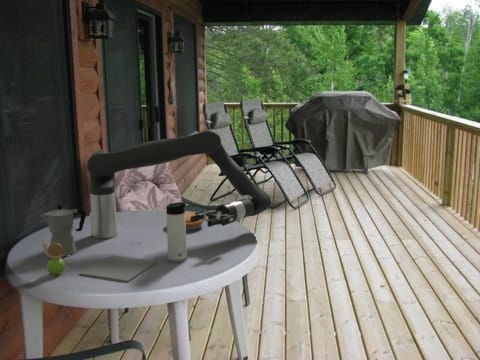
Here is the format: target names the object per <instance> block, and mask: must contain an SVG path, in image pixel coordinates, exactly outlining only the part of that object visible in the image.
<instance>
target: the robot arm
mask: <svg viewBox="0 0 480 360" xmlns="http://www.w3.org/2000/svg"><path fill="white" fill-rule="evenodd" d="M195 155H196V156H197V155H206V156H207V157H209V159H211V160H212V161H213V163H214V164H216V165H217V167H218V168H219V169H220V171H221V172H222V174H223V175H224V176H225V177H226V179H227V180H228V182H229V183H230V184H231V185H232V187H233V188H234V190H235V191H236V192H237V193H238V194H239V195H240V196H241V197H244V196H249V197H251V198H249V199H247V198H242V199H237V200H234V201H233V200H232V201H230V202H225V203H222V204H219V205H218V206H217V207H216V208H215V210H209V209H203V210H199V211H195V212H194V213H195V215H194V216H191V222H196V221H200V220H204V222H206V224H207V227H208V228H211V227H214V226H220V225H221V227H223V226H227V225H230V224H232V223H235V222H238V221H241V220H242V219H245V218H247V217H255V216H258V215H260V214H261V213H264V211H265V212H266V210H268V209H270V208H271V206H272V199H271V197H270V195H269V194H268V192H266V191H265V190H264V189H262V188H261V187H260V186H258V185H257V184H256V183H254V182H253V181H252V180H251V179H250V177H249V176H248V175H247V173H246V172H245V171H244V170H243V169H242V167H240V165H238V164H237V163H236V161H235V160H234V159H233V158H232V157H231V156H230V154H229V153H228V152H227V151H226V149H225V148H224V145H223V144H222V139H221V136H220V135H219V133H217V132H216V131H215V130H213V129H205V130H203V131H200V132H198V133H194V134H191V135H187V136H182V137H172V138H161V139H156V140H151V141H146V142H142V143H140V144H136V145H134V146H132V147H129V148H126V149H123V150H118V151H112V152H108V151H107V150H97V151H95V152H93V153H92V154H91V155H90V157H89V158H88V160H87V162H86V169H87V171H88V173H89V175H90V177H89V178H90V180H89V181H90V184H89V193H90V194H89V195H90V205H91V207H90V208H91V211H90V212H89V223H90V237H94V238H95V239H111V238H114V237H116V236H117V235H118V222H117V205H116V190H115V188H116V179H115V176H116V175H115V173H118V172H121V171H125V170H130V169H133V170H134V169H140V168H146V167H151V166H156V165H161V164H162V165H163V164H166V163H169V162H173V161H176V160H179V159H182V158H185V157H188V156H195Z"/></svg>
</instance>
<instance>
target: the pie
mask: <svg viewBox="0 0 480 360" xmlns="http://www.w3.org/2000/svg"><path fill="white" fill-rule="evenodd" d="M194 215H195V212H185V223H186V232H188V231H190V232H191V231H194V230H195V231H196V230H199V229H200V228H201V227H202V225H203V223H204V222H205V221H204V220H200V221H196V222H191V216H194Z"/></svg>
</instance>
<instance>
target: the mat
mask: <svg viewBox="0 0 480 360" xmlns="http://www.w3.org/2000/svg"><path fill="white" fill-rule="evenodd" d="M158 262H159V261H158V260H152V259H143V258H138V257H130V256H123V255H114V254H112V255H110V256H109V257H108V256H107V257H106V258H104V259H103V260H101V261H99V262H97V263H95V264H93V265H92V266H90V267H88V268H86V269H85V270H82V271H81V272H79V276H85V277H91V278H97V279H103V280H110V281H115V282H116V281H117V282H124V283H130V282H131V281H133V280H134V279H136V278H137V277H138V276H140V275H142V274H143V273H145V272H147V271H148V270H149V269H151V268H152V267H154V266H155V265H157V264H159V263H158Z"/></svg>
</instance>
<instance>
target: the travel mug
mask: <svg viewBox="0 0 480 360" xmlns="http://www.w3.org/2000/svg"><path fill="white" fill-rule="evenodd" d="M186 205H187V203H186V202H183V201H179V202H172V203H168V205H166V207H165V208H166V211H165V212H166V215H165V216H166V234H167V236H166V237H167V238H166V239H167V255H168V257H167V258H168V261H169V262H171V263H176V264H179V263H183V262H185V261H186V260H187V259H188V257H187V256H188V255H187V254H188V253H187V231H186V223H185V213H186Z"/></svg>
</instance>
